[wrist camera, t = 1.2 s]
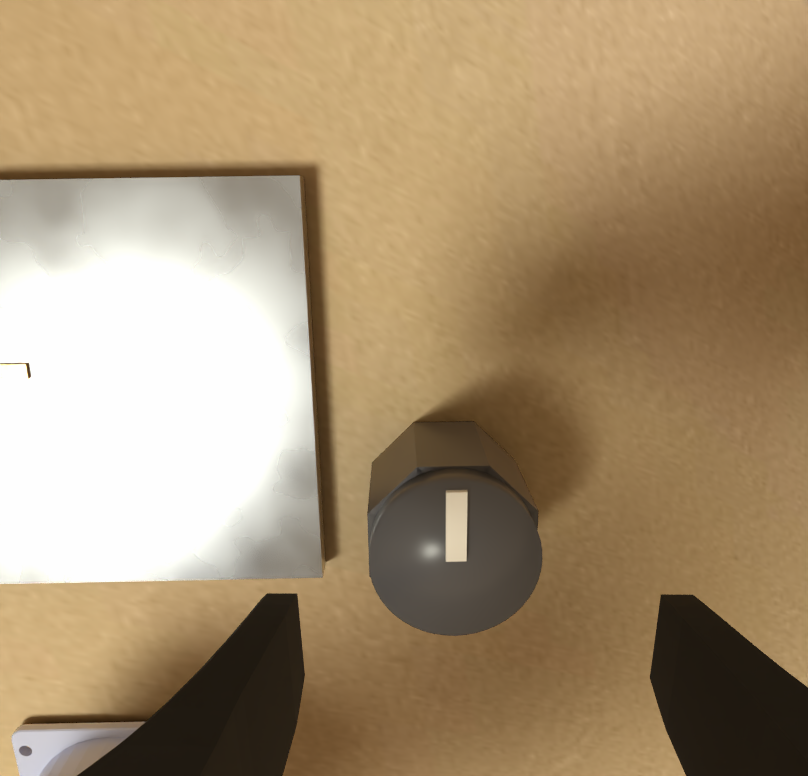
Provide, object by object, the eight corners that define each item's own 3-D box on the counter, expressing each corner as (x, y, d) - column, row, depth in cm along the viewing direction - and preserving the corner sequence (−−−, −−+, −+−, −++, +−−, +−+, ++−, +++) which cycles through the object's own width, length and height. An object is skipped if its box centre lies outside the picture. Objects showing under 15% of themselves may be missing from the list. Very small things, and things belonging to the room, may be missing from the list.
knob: (511, 549, 24) (541, 638, 19) (374, 552, 24) (369, 642, 19) (516, 420, 23) (549, 480, 18) (370, 423, 23) (363, 484, 18)
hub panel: (325, 562, 24) (312, 630, 20) (-150, 572, 24) (-252, 641, 20) (304, 176, 20) (282, 170, 17) (-262, 185, 20) (-416, 181, 16)
